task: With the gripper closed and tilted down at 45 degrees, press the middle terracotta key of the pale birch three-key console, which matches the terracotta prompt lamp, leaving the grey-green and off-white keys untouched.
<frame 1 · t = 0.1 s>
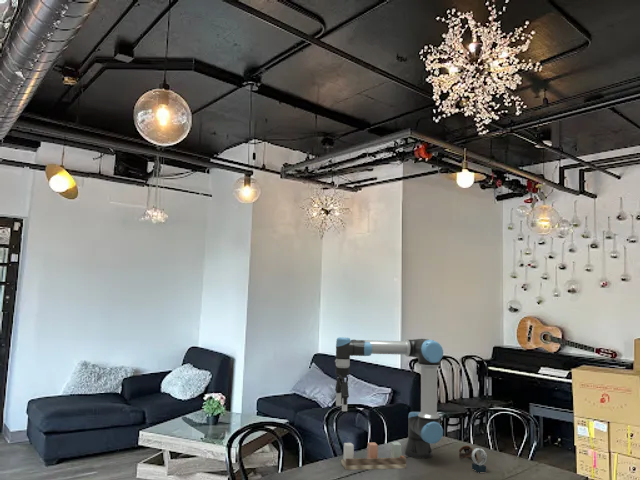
hand: (341, 408, 249), 28 cm above the table, tool pointing down, fingers open, 13 cm apart
grey-green key: (396, 451, 250), point 6 cm above the table, slide at 0.0 cm
pottery mug: (468, 459, 262), on the table
small desk fan: (479, 471, 242), on the table
birch key console: (373, 465, 244), on the table
off-white key: (348, 452, 245), point 6 cm above the table, slide at 0.0 cm
terracotta key: (372, 451, 247), point 6 cm above the table, slide at 0.0 cm
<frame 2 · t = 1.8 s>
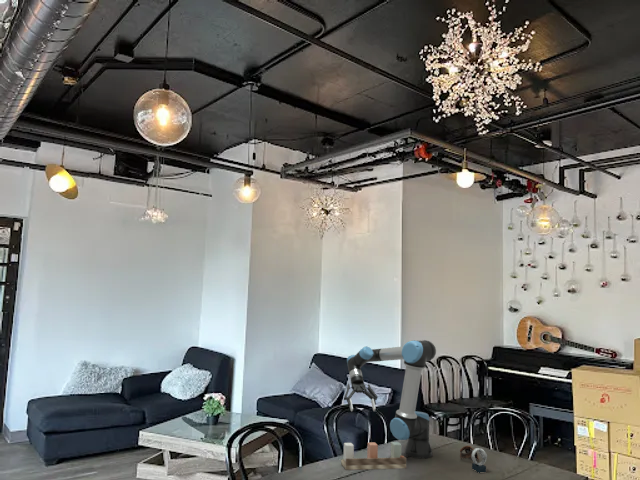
hand: (363, 410, 267), 24 cm above the table, tool tilted 45°, fingers open, 13 cm apart
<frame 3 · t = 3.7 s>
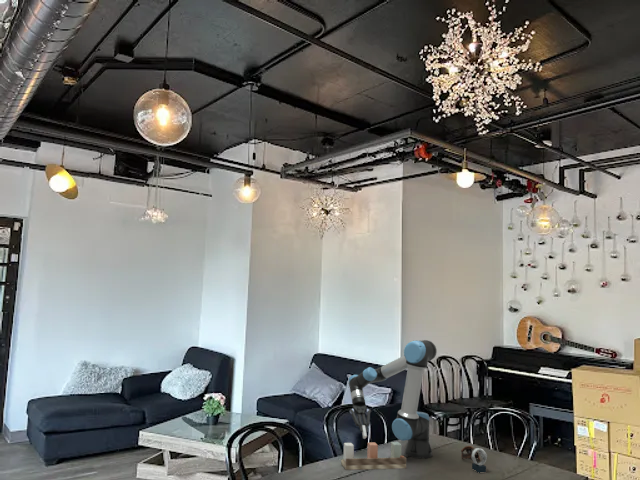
hand: (365, 437, 259), 11 cm above the table, tool tilted 45°, fingers closed
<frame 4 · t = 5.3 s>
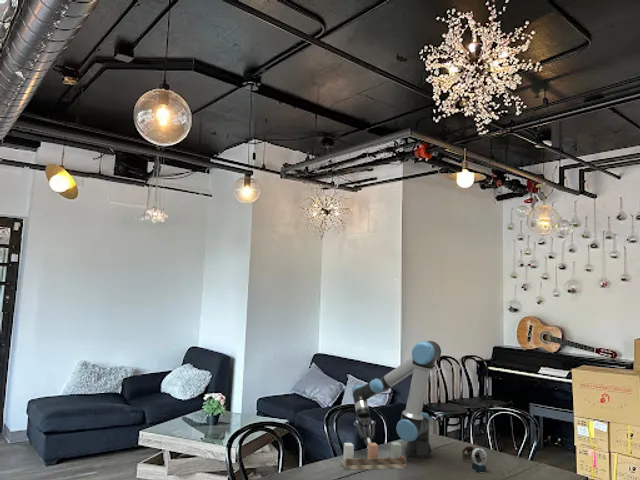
hand: (370, 450, 250), 6 cm above the table, tool tilted 45°, fingers closed
terracotta key: (372, 452, 247), point 6 cm above the table, slide at 0.6 cm, touching gripper
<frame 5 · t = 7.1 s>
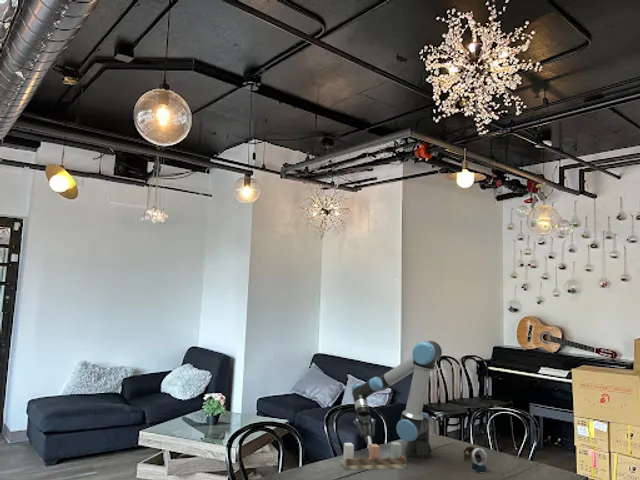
hand: (370, 448, 251), 7 cm above the table, tool tilted 45°, fingers closed
terracotta key: (374, 453, 244), point 6 cm above the table, slide at 3.1 cm
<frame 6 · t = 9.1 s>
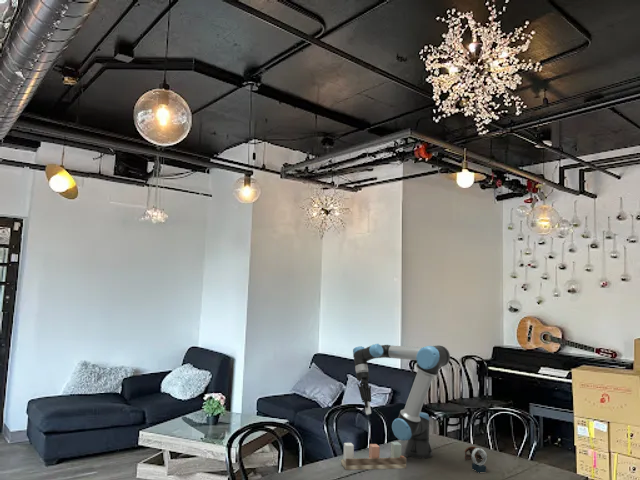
hand: (368, 413, 269), 21 cm above the table, tool tilted 25°, fingers closed
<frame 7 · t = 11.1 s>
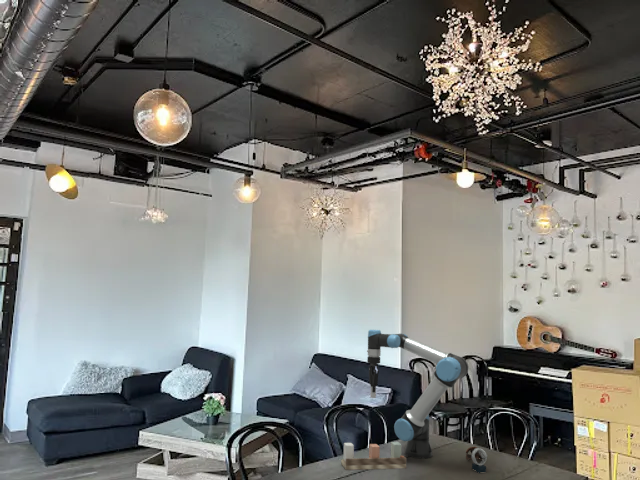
hand: (373, 397, 274), 29 cm above the table, tool pointing down, fingers closed
at the end: terracotta key slide at 3.1 cm; grey-green key slide at 0.0 cm; off-white key slide at 0.0 cm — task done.
